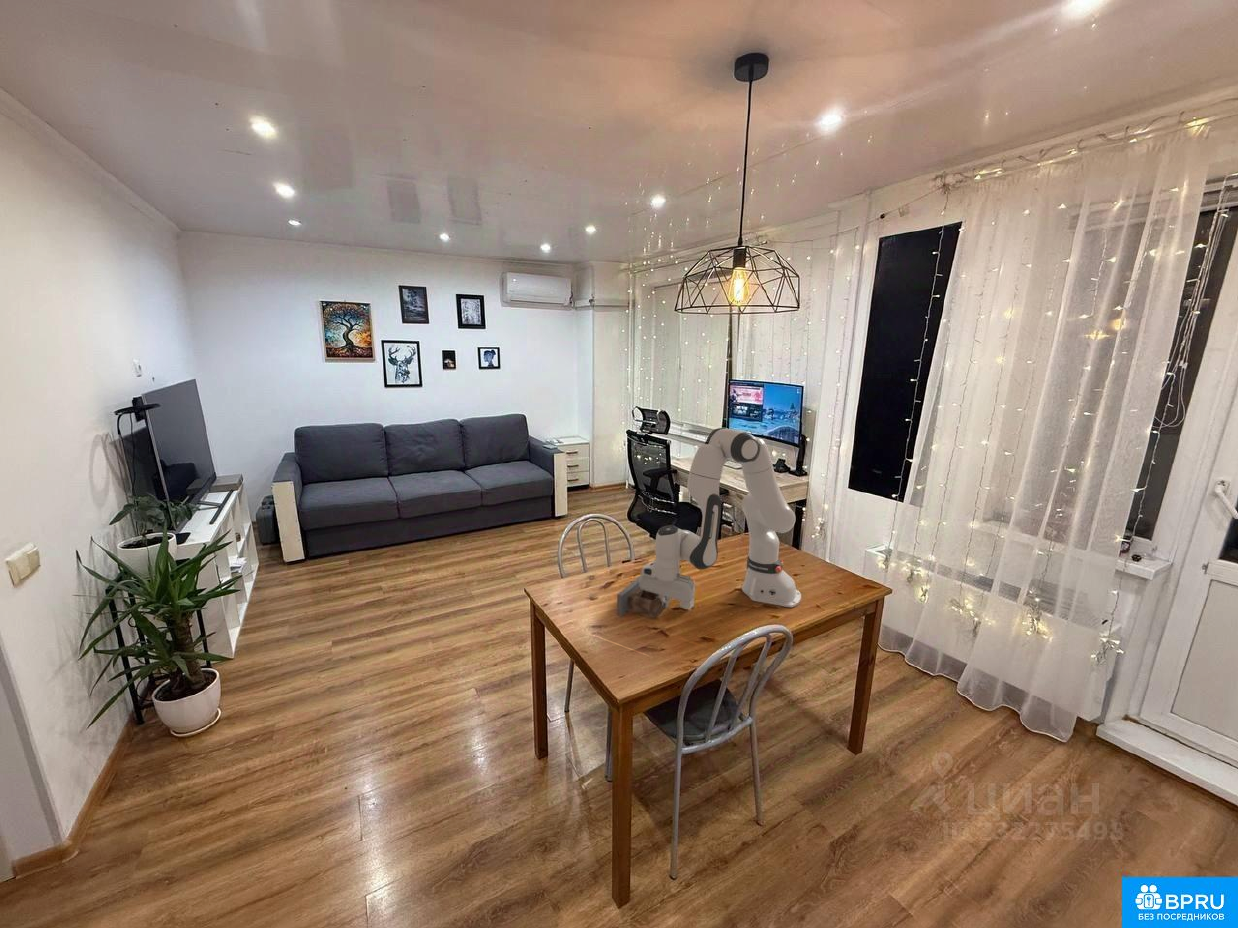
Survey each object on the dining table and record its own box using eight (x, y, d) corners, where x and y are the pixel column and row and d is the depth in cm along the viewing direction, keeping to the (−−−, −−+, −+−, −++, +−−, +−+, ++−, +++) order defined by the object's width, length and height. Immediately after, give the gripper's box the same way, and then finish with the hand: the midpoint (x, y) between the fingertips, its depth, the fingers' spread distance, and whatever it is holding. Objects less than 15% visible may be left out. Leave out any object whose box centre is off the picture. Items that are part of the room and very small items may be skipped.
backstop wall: (647, 592, 194) (648, 574, 192) (621, 615, 178) (622, 595, 176) (643, 591, 195) (643, 572, 193) (617, 614, 179) (617, 594, 177)
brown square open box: (667, 606, 185) (668, 591, 183) (654, 619, 176) (655, 604, 174) (642, 598, 190) (642, 584, 189) (627, 610, 181) (628, 596, 180)
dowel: (693, 605, 186) (695, 581, 183) (689, 610, 182) (690, 585, 180) (683, 602, 188) (685, 578, 185) (679, 607, 184) (680, 582, 182)
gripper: (697, 574, 173) (695, 609, 176) (645, 561, 183) (644, 595, 186) (690, 581, 168) (688, 618, 171) (637, 567, 178) (636, 602, 181)
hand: (665, 605), depth 179 cm, fingers closed
